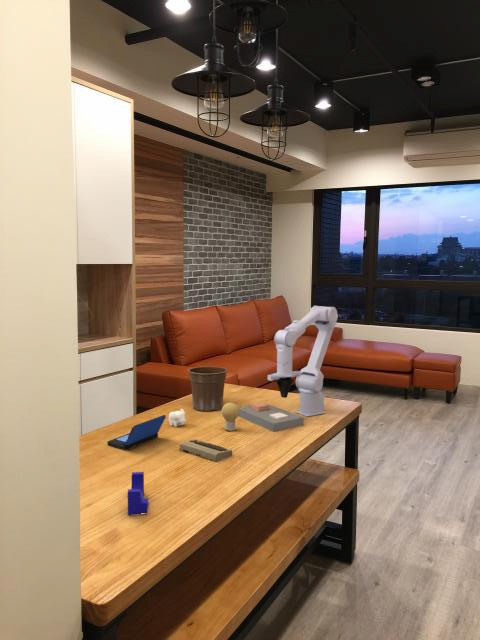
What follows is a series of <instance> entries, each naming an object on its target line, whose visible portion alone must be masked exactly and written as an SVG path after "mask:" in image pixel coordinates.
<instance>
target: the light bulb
mask: <svg viewBox="0 0 480 640" xmlns="http://www.w3.org/2000/svg"><path fill="white" fill-rule="evenodd" d="M239 408H240V407H239V406H238V405H237V404H236V403H234V402H227V403H225V404H223V405H222V408H221V416H222V417H223V418H224V420H225V421H224V429H225V430H226V431H229V432H233V431H235V430H236V420H237V418H238V417H239V416H238V415H239Z"/></svg>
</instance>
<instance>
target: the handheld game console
mask: <svg viewBox="0 0 480 640" xmlns="http://www.w3.org/2000/svg"><path fill="white" fill-rule="evenodd" d="M165 419H166V415H165V414H163V415H160V416H157V417H154V418H151V419H149V420H146V421H144V422H141V423H138V424H136V425H135V424H134V426H133V427H132V428H131V430H130V432H129V433H126V434H123V435H121V436H118V437H115V438H112V439H110V440H108V441H106V442H107V443H106V444H107V445H108V446H109V447H113V448H116V449H120V450H123V451H127V450H129V449H132V448H134V447H137V445H138V444H139V445H141V444H145V443H147V441H148V442H149V441H153V440H155V439H157V438H158V437H159V432H160V429H161V427H162V425H163V423H164V422H165ZM144 442H145V443H144ZM140 443H141V444H140ZM139 445H138V446H139Z"/></svg>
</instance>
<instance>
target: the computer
mask: <svg viewBox="0 0 480 640" xmlns="http://www.w3.org/2000/svg"><path fill="white" fill-rule="evenodd" d="M179 451H180V452H183V453H184V452H187V453H188V454H189V455H192V456H195V457H198V458H201V459H202V458H203V459H205V460H209V461H212V462H214V463H218V462H221V461H223V460H224V459H227V458H229V457H232V456H233V450H232V449H229V448H225V447H223V446H220V445H217V444H212V443H210V442H205V441H202V440H199V439H190V440H184V441H182V442H180V444H179Z"/></svg>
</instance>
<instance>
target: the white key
mask: <svg viewBox="0 0 480 640" xmlns="http://www.w3.org/2000/svg"><path fill="white" fill-rule="evenodd" d="M269 416H270V417H273V418H275V419H282V418H287V417H288V415H285V414H283V413H275V414H269Z"/></svg>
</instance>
